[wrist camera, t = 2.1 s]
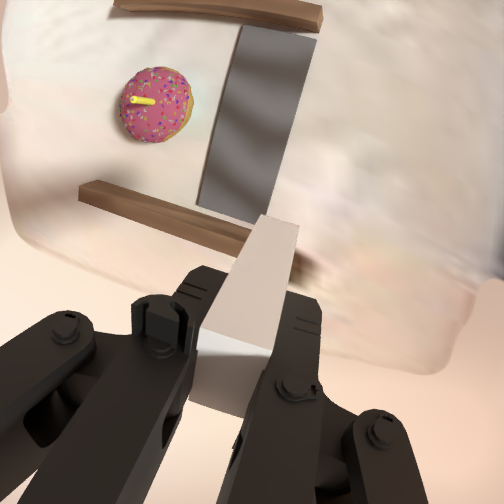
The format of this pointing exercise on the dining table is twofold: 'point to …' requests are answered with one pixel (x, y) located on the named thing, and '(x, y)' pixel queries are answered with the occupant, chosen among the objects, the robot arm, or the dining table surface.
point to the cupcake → (156, 104)
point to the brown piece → (233, 125)
